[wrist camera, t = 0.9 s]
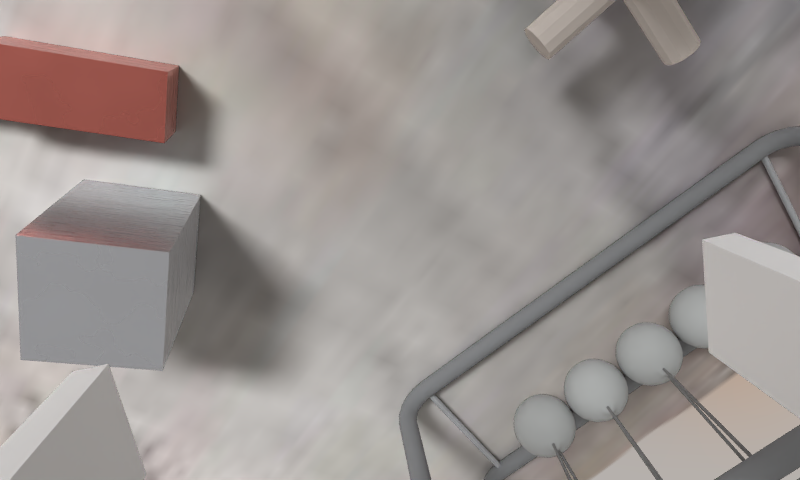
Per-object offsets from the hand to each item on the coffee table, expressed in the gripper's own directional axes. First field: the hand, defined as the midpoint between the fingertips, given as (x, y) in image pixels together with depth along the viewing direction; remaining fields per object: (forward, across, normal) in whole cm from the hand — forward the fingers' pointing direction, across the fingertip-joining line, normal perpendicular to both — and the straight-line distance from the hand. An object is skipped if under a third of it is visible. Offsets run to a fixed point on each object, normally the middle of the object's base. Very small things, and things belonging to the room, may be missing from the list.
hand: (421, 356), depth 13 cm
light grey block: (+22, -13, 0) cm, 25 cm away
